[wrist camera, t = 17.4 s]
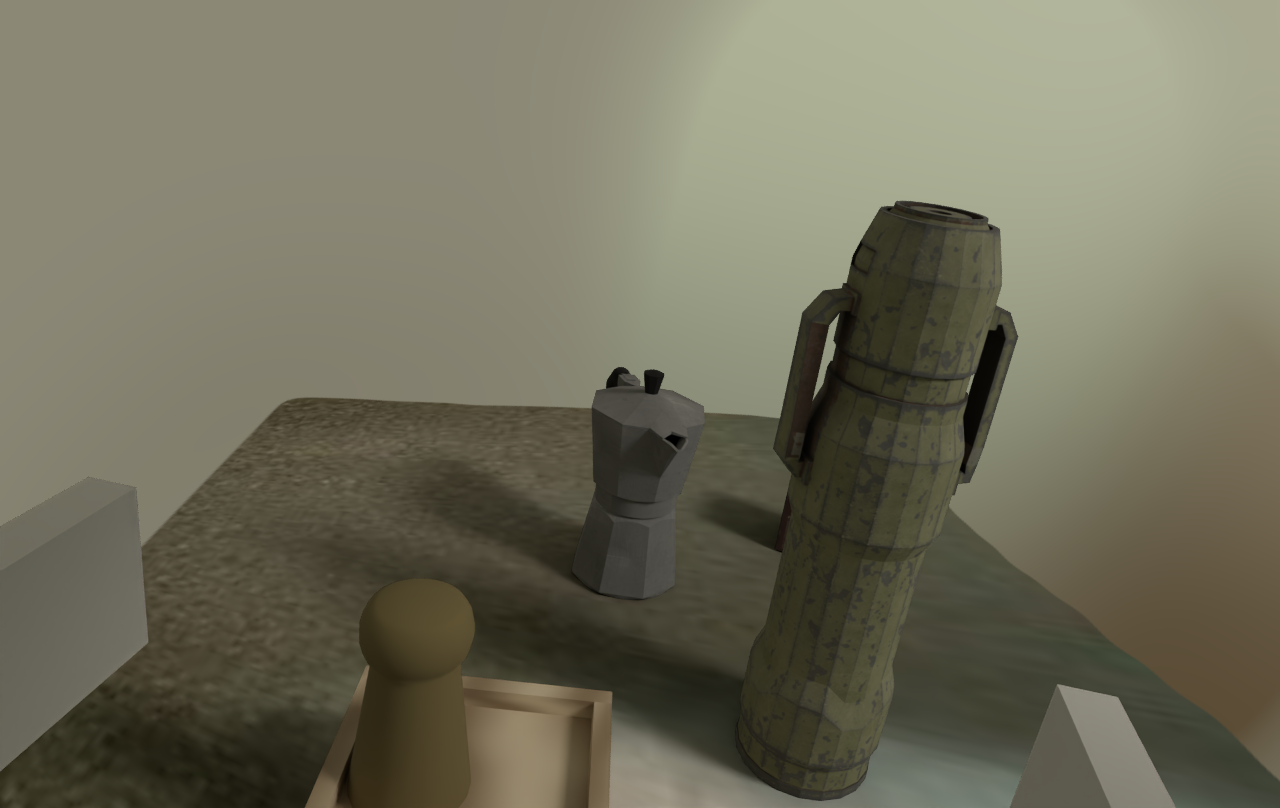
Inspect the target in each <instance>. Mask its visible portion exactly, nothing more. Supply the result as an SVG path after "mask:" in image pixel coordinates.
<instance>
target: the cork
mask: <svg viewBox="0 0 1280 808" xmlns="http://www.w3.org/2000/svg"><path fill="white" fill-rule="evenodd" d="M474 634H475V622H474V616H473V611H472V607H471V605H470V603H469V602H468V601H467V599H466V598H465V596H464V595H463V594H462V592H461V591H460V590H458V589H457V588H455V587H454V586H452V585H451V584H448V583H445V582H442V581H439V580H433V579H426V578H417V579H406V580H402V581H397V582H394V583H392V584H389V585H387V586H385V587H383V588H382V589H381V590H379V591H378V592H377V593H376V594H374V596H373V597H372V598H371V599H370V600H369V602H368V603H367V605H366V607H365V609H364V610H363V613H362V616H361V619H360V629H359V644H360V647H361V650H362V653H363V655H364V657H365V659H366V661H367V663H368V664H369V665H370V666H369V671H368V676H367V681H366V686H365V692H364V697H363V702H362V707H361V712H360V718H359V723H358V728H357V733H356V738H355V744H354V749H353V754H352V759H351V764H350V770H349V775H348V780H347V796H348V799H349V801H350V803H351V806H352V808H459V807H460V805H461V804H462V803H463V801H464V800H465V798H466V797H467V795H468V791H469V788H470V784H471V773H470V761H469V750H468V739H467V727H466V716H465V704H464V693H463V681H462V670H461V663H462V662H463V660H464V659H465V658H466V657H467V655H468V652H469V650H470V647H471V644H472V641H473V638H474Z"/></svg>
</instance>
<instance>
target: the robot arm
mask: <svg viewBox="0 0 1280 808" xmlns="http://www.w3.org/2000/svg"><path fill="white" fill-rule="evenodd" d="M147 643H148V633H147V620H146V607H145V594H144V581H143V568H142V555H141V543H140V530H139V518H138V504H137V491H136V487H133V486H128V485H124V484H119V483H114V482H110V481H105V480H101V479H95V478H91V477H87V478H86V479H84V480H82V481H80V482H78V483H77V484H75V485H73V486H71V487H70V488H68V489H66V490H64V491H62V492H61V493H59V494H57V495H55V496H53V497H52V498H50V499H48V500H46V501H45V502H43V503H41V504H39V505H37V506H36V507H34V508H32V509H30V510H28V511H27V512H25V513H23V514H21V515H20V516H18V517H16V518H14V519H12V520H11V521H9V522H7V523H5V524H4V525H2V526H0V771H1V770H2V769H3V768H4V767H6V766H7V765H8V764H9V763H10V762H11V761H13V760H14V759H15V758H16V757H17V756H18V755H19V754H21V753H22V752H23V751H24V750H25V749H26V748H27V747H29V746H30V745H31V744H32V743H33V742H34V741H36V740H37V739H38V738H39V737H40V736H41V735H42V734H44V733H45V732H46V731H47V730H48V729H49V728H50V727H52V726H53V725H54V724H55V723H56V722H57V721H59V720H60V719H61V718H62V717H63V716H64V715H65V714H67V713H68V712H69V711H70V710H71V709H72V708H73V707H75V706H76V705H77V704H78V703H79V702H80V701H82V700H83V699H84V698H85V697H86V696H87V695H88V694H90V693H91V692H92V691H93V690H94V689H95V688H97V687H98V686H99V685H100V684H101V683H102V682H103V681H105V680H106V679H107V678H108V677H109V676H110V675H111V674H113V673H114V672H115V671H116V670H117V669H118V668H120V667H121V666H122V665H123V664H124V663H125V662H126V661H128V660H129V659H130V658H131V657H132V656H133V655H134V654H136V653H137V652H138V651H139V650H140V649H141V648H143V647H144V646H145V645H146V644H147ZM1010 808H1176V807H1175V805H1174V804H1173V802H1172V800H1171V798H1170V796H1169V794H1168V792H1167V790H1166V788H1165V786H1164V784H1163V783H1162V781H1161V779H1160V777H1159V775H1158V773H1157V771H1156V769H1155V767H1154V765H1153V764H1152V762H1151V760H1150V758H1149V756H1148V754H1147V752H1146V750H1145V748H1144V746H1143V744H1142V743H1141V741H1140V739H1139V737H1138V735H1137V733H1136V731H1135V729H1134V727H1133V725H1132V724H1131V722H1130V720H1129V718H1128V716H1127V714H1126V712H1125V710H1124V708H1123V706H1122V704H1121V703H1120V701H1119V699H1118V697H1114V696H1110V695H1105V694H1100V693H1096V692H1091V691H1086V690H1082V689H1077V688H1072V687H1068V686H1063V685H1058V684H1057V686H1056V689H1055V691H1054V694H1053V697H1052V699H1051V702H1050V704H1049V707H1048V710H1047V712H1046V715H1045V717H1044V720H1043V723H1042V725H1041V728H1040V730H1039V733H1038V736H1037V738H1036V741H1035V743H1034V746H1033V749H1032V751H1031V754H1030V757H1029V759H1028V762H1027V764H1026V767H1025V770H1024V772H1023V775H1022V777H1021V780H1020V783H1019V785H1018V788H1017V790H1016V793H1015V796H1014V798H1013V801H1012V803H1011V806H1010Z"/></svg>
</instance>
